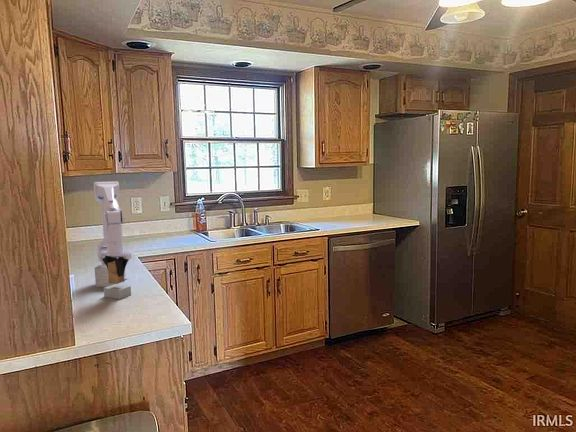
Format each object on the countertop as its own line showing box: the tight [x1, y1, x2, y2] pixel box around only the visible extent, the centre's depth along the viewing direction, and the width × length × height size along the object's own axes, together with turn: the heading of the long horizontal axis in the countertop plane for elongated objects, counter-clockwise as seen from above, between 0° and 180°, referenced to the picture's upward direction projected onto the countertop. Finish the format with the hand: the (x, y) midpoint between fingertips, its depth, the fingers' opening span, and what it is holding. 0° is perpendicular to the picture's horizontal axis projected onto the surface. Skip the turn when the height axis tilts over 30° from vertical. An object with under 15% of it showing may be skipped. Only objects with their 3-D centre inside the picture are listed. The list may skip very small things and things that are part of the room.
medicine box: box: [94, 264, 114, 288], centre depth 184 cm, size 8×4×9 cm, turn 91°
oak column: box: [108, 261, 125, 284], centre depth 170 cm, size 4×4×8 cm
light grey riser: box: [103, 283, 132, 300], centre depth 171 cm, size 6×8×4 cm
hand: (116, 275), depth 170 cm, fingers closed on oak column, 4 cm apart
